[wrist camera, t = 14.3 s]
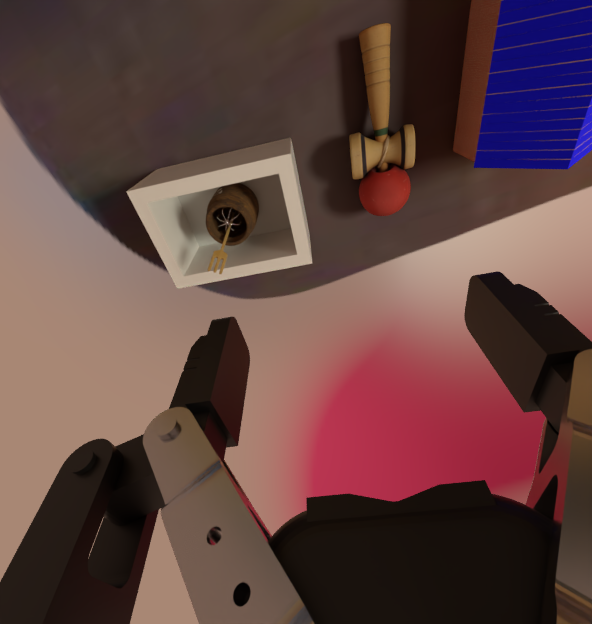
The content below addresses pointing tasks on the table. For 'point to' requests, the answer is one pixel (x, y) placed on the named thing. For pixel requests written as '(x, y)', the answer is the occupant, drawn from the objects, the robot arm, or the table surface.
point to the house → (526, 84)
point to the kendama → (381, 134)
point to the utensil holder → (231, 218)
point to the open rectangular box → (193, 208)
